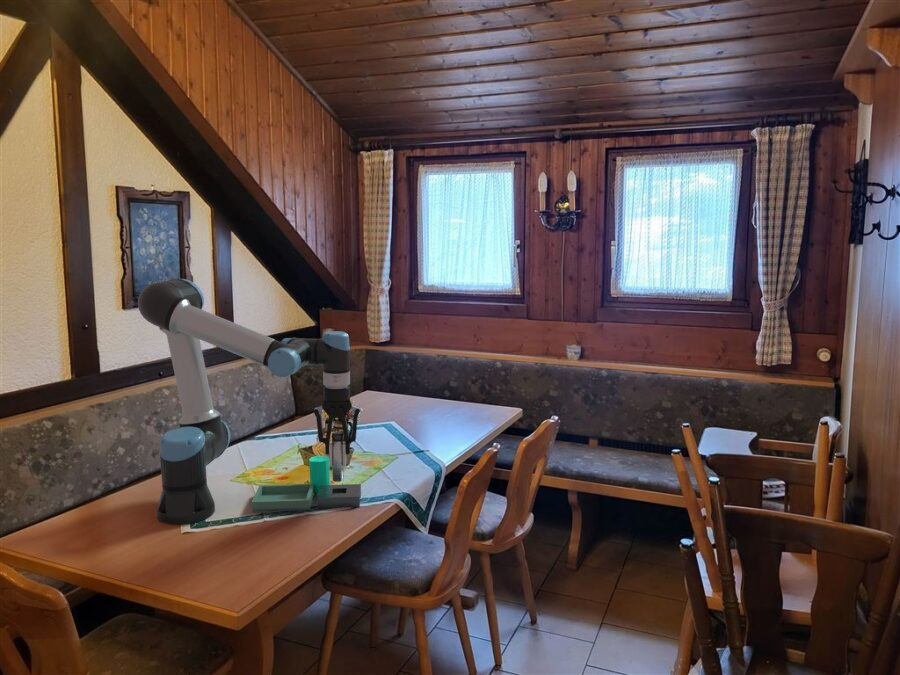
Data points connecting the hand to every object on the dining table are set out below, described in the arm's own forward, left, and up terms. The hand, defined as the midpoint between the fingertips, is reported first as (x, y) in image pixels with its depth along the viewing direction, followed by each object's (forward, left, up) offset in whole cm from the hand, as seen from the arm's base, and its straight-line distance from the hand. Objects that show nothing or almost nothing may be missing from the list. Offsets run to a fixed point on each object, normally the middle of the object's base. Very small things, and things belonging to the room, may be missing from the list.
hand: (337, 464), depth 209 cm
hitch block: (0, 0, -11) cm, 11 cm away
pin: (0, 0, -5) cm, 5 cm away
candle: (-6, +9, -12) cm, 16 cm away
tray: (-16, 0, -11) cm, 19 cm away
